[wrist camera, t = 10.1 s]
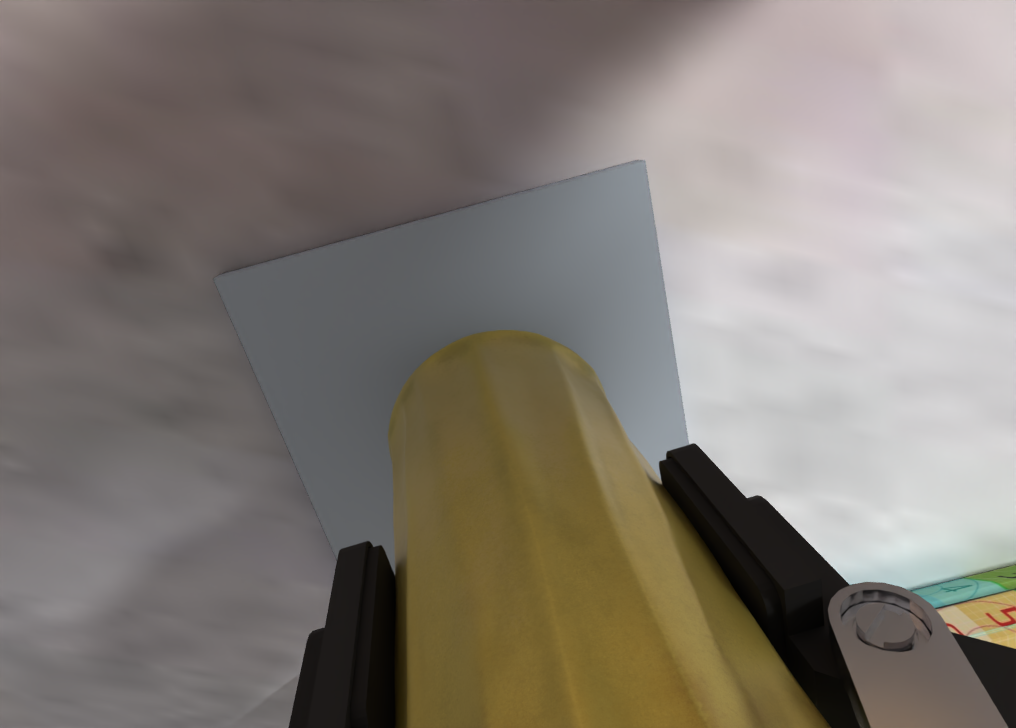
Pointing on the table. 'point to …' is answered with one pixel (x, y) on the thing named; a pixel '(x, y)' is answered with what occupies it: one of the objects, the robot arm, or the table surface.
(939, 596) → the puzzle game
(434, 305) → the mat
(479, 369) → the vase
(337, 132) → the table surface
